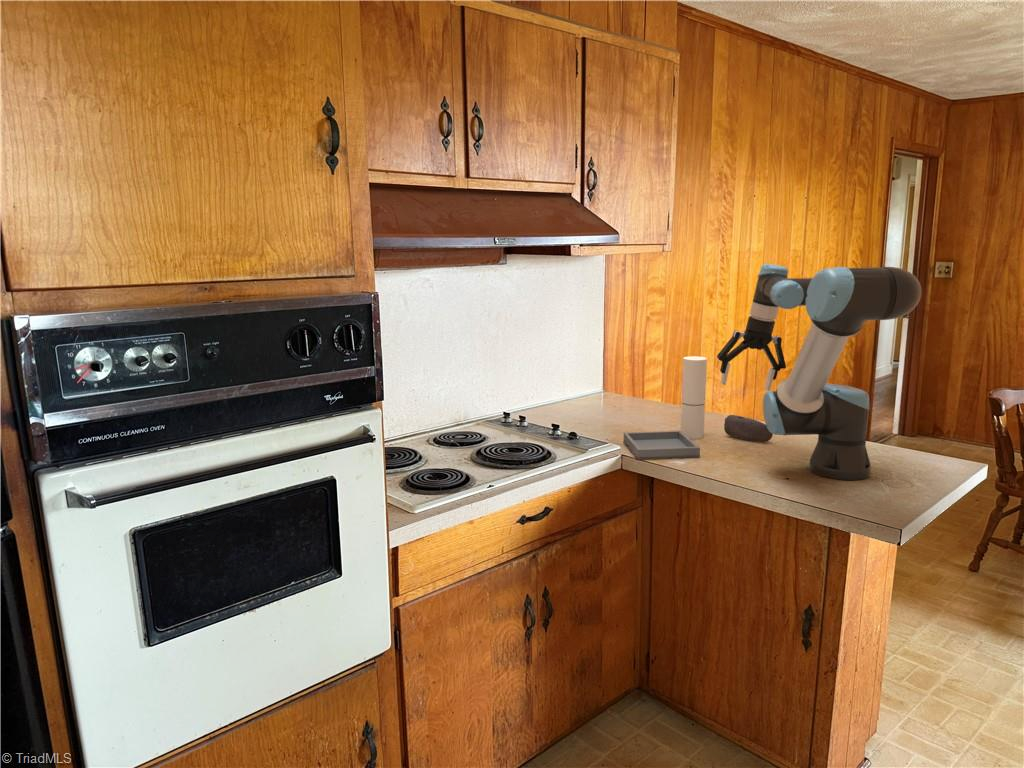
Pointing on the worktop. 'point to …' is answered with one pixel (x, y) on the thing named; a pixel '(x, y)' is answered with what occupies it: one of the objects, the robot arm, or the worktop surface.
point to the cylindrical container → (693, 396)
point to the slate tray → (661, 445)
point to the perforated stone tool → (746, 429)
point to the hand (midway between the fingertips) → (744, 386)
